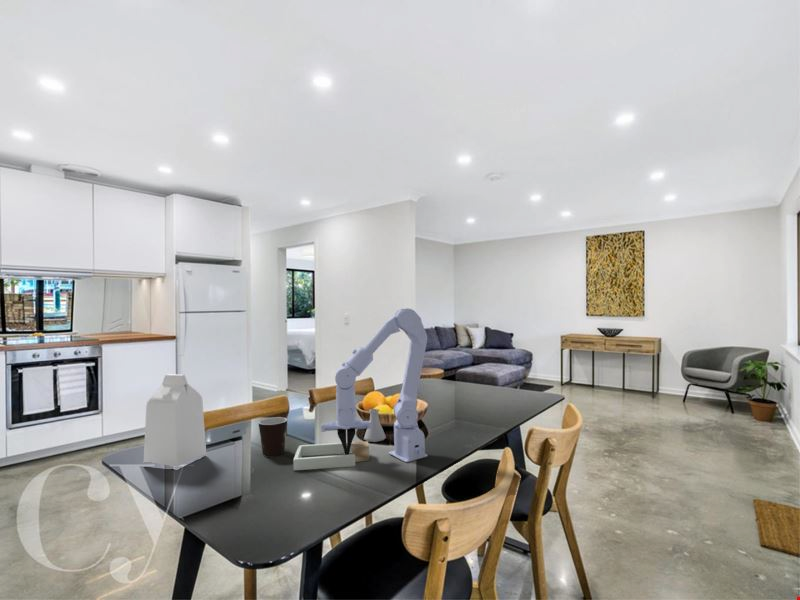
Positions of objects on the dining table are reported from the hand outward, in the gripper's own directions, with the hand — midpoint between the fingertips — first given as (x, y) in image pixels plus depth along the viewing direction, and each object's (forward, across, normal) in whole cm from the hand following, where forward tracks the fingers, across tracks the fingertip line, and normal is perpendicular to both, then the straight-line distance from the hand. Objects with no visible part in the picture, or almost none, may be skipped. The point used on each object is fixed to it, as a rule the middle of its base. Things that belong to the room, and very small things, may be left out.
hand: (347, 454), depth 120 cm
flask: (+2, +9, +17) cm, 19 cm away
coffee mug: (+2, -22, +11) cm, 25 cm away
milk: (+2, -51, +8) cm, 52 cm away
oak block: (+1, +4, 0) cm, 4 cm away
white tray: (+1, -6, 0) cm, 6 cm away
